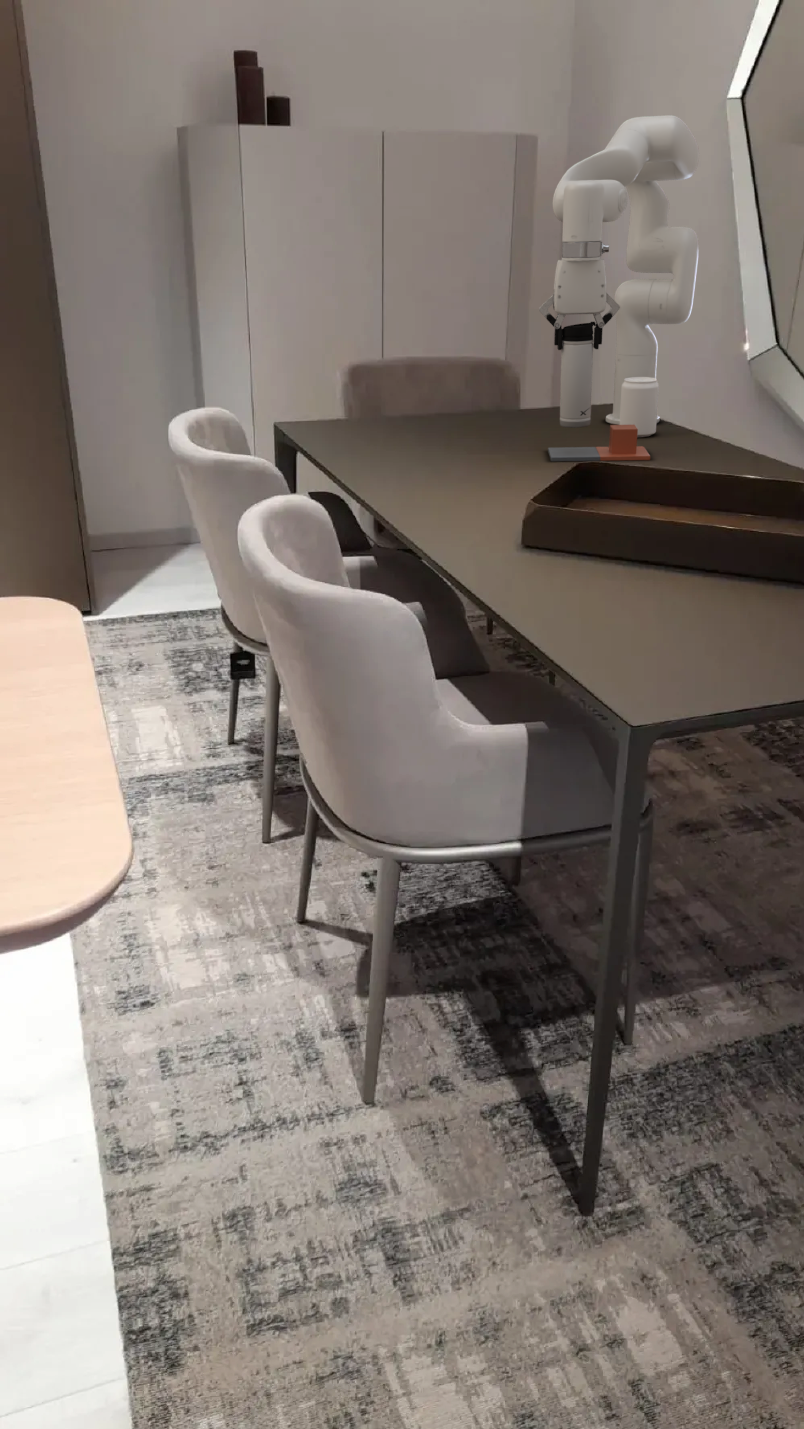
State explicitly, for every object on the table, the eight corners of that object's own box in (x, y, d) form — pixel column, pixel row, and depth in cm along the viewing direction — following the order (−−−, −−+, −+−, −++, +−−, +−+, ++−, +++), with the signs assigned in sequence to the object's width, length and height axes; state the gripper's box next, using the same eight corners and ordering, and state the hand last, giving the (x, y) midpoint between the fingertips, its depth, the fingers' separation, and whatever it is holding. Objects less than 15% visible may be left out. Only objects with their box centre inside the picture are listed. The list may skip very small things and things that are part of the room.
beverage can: (644, 430, 252) (647, 375, 247) (662, 436, 245) (666, 380, 240) (612, 432, 250) (615, 378, 245) (629, 439, 243) (633, 383, 238)
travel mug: (591, 427, 223) (595, 323, 214) (558, 427, 224) (560, 324, 216) (592, 422, 228) (596, 320, 220) (560, 422, 230) (563, 321, 221)
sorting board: (547, 451, 234) (548, 447, 233) (643, 450, 232) (643, 446, 232) (550, 461, 225) (551, 457, 224) (650, 460, 223) (650, 456, 223)
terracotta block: (608, 449, 230) (610, 425, 228) (633, 448, 230) (634, 424, 228) (611, 454, 226) (612, 429, 224) (636, 453, 225) (637, 429, 223)
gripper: (624, 250, 215) (619, 345, 223) (535, 252, 216) (533, 347, 224) (629, 251, 208) (623, 350, 216) (537, 254, 210) (535, 352, 217)
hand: (577, 348), depth 220 cm, fingers closed on travel mug, 6 cm apart
